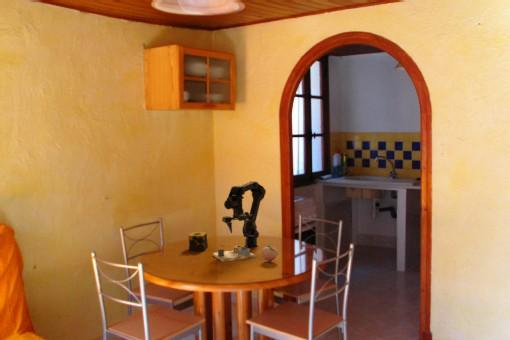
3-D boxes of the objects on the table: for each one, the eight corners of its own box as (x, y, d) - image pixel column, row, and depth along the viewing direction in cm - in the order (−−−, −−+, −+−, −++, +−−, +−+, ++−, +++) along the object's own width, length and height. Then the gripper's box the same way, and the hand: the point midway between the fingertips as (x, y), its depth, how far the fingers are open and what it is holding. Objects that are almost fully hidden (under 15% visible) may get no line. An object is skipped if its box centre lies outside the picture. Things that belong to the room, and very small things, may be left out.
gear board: (244, 251, 301) (243, 243, 301) (254, 257, 287) (254, 248, 286) (213, 255, 293) (213, 247, 292) (222, 261, 278) (222, 253, 278)
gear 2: (247, 252, 293) (246, 247, 293) (251, 254, 287) (251, 249, 286) (236, 253, 290) (236, 248, 290) (240, 256, 284) (240, 251, 283)
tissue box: (208, 247, 313) (207, 231, 312) (204, 251, 303) (204, 235, 302) (192, 247, 314) (191, 231, 313) (188, 251, 304) (188, 235, 303)
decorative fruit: (258, 261, 277) (258, 244, 276) (269, 259, 282) (269, 241, 281) (268, 265, 270) (268, 247, 269) (280, 262, 275) (279, 244, 274)
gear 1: (241, 249, 300) (240, 244, 299) (247, 251, 294) (247, 246, 294) (231, 251, 296) (231, 246, 295) (237, 253, 290) (237, 248, 290)
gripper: (228, 210, 287) (229, 236, 288) (257, 207, 295) (257, 233, 296) (221, 207, 297) (222, 232, 299) (249, 204, 305) (250, 229, 306)
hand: (238, 232), depth 300 cm, fingers open, 9 cm apart
